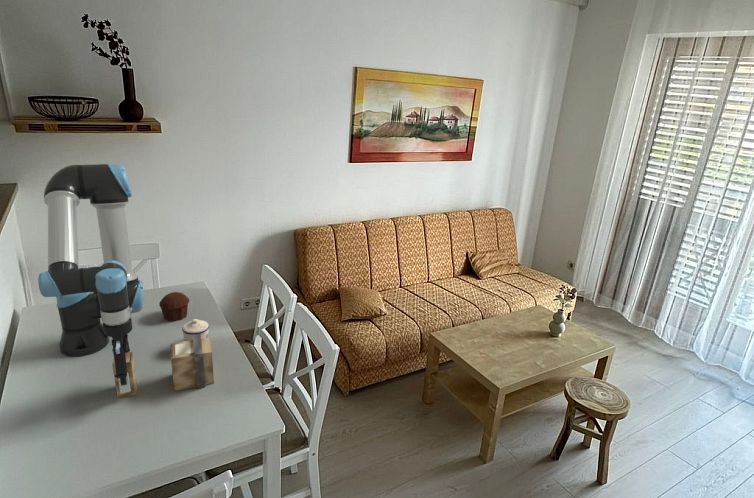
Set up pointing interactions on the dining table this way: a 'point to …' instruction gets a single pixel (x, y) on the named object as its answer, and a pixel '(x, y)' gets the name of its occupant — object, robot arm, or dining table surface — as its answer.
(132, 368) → the pink-ended wooden block
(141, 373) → the dining table surface
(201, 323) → the teacup with lid
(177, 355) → the tan wooden crate
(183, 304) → the muffin
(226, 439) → the dining table surface
